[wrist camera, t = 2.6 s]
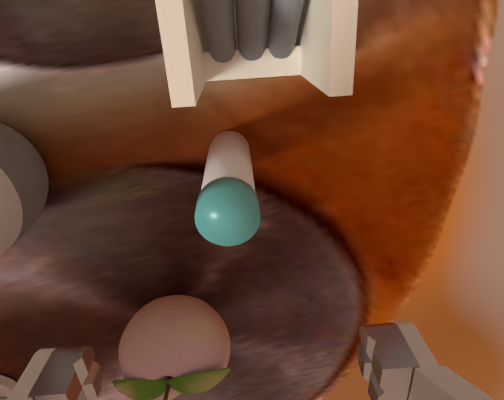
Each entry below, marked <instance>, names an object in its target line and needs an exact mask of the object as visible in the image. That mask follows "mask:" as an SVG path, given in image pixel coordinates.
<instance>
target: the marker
mask: <svg viewBox="0 0 504 400" xmlns="http://www.w3.org/2000/svg"><path fill="white" fill-rule="evenodd" d="M260 220H261V215H260V208H259V201H258V197H257V194H256V192H255V185H254V178H253V171H252V163H251V156H250V149H249V144H248V142H247V140H246V139H245V137H243V136H242V135H241V134H239V133H237V132H234V131H223V132H221V133H219V134H217V135H216V136H215V137H214V138H213V139H212V140H211V142H210V145H209V150H208V155H207V161H206V166H205V172H204V177H203V183H202V188H201V192H200V193H199V196H198V200H197V205H196V210H195V224H196V227H197V229H198V231H199V233H200V234H201V235H202V236H203V237H204V238H205V239H206V240H208V241H209V242H211V243H214V244H216V245H220V246H235V245H239V244H242V243H244V242H246V241H247V240H249V239H250V238H251V237H252V236H253V235H254V234H255V233H256V231H257V230H258V228H259V225H260Z"/></svg>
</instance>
